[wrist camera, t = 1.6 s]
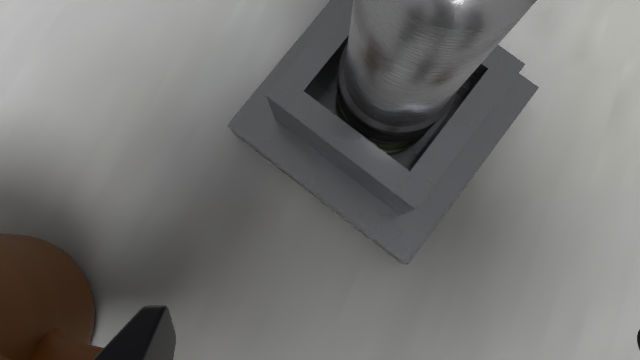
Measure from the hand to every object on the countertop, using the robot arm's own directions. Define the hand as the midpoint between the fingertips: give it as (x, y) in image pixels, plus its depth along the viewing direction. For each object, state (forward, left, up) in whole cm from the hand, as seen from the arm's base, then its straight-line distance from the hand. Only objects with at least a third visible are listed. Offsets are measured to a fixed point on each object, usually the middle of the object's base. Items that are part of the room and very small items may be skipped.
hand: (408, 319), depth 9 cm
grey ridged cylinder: (+4, -7, -12) cm, 14 cm away
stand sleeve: (+4, -7, -13) cm, 15 cm away
